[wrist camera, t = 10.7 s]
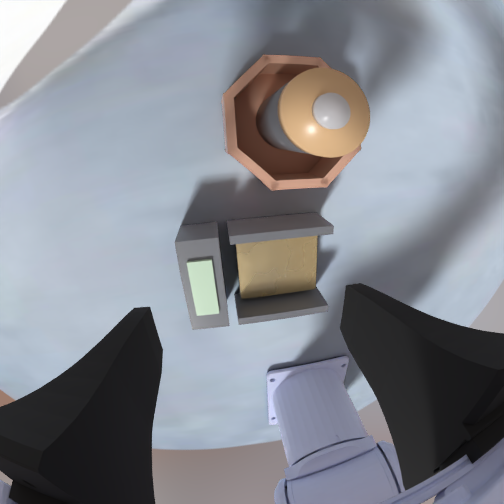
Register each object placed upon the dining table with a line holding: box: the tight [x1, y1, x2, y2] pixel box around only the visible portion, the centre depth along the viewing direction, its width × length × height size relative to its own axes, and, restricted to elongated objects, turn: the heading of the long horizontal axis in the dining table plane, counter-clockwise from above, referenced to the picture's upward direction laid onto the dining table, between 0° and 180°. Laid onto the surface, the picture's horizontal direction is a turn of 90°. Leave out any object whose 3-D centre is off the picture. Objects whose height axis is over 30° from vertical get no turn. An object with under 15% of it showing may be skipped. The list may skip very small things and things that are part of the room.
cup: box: [221, 54, 361, 191], centre depth 14 cm, size 8×8×3 cm
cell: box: [256, 68, 370, 158], centre depth 12 cm, size 4×4×7 cm
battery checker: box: [175, 212, 334, 330], centre depth 18 cm, size 6×9×3 cm, turn 94°
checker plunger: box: [236, 236, 317, 299], centre depth 18 cm, size 4×5×1 cm
